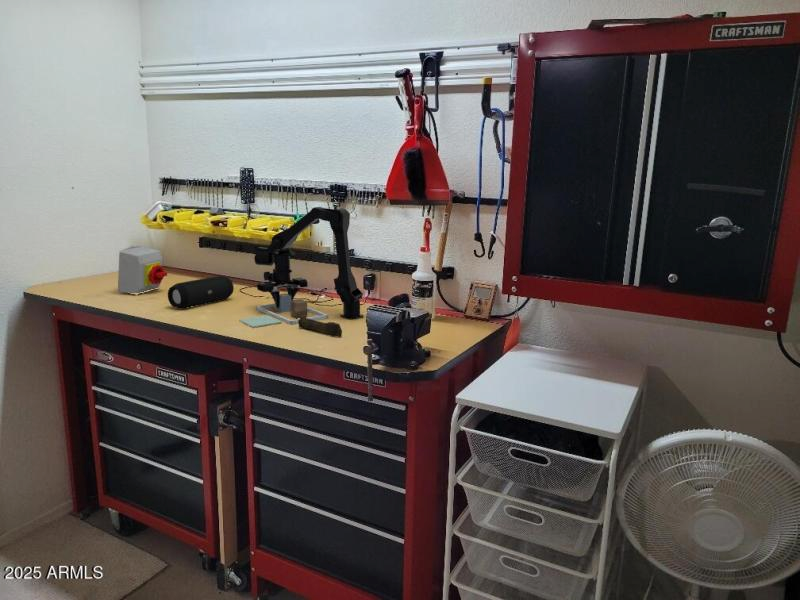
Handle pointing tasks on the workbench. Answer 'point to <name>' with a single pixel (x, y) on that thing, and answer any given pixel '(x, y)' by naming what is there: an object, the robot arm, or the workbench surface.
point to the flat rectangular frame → (261, 308)
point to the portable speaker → (200, 291)
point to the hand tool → (321, 326)
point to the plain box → (298, 308)
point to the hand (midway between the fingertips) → (283, 306)
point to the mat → (260, 321)
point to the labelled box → (284, 303)
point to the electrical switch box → (139, 269)
